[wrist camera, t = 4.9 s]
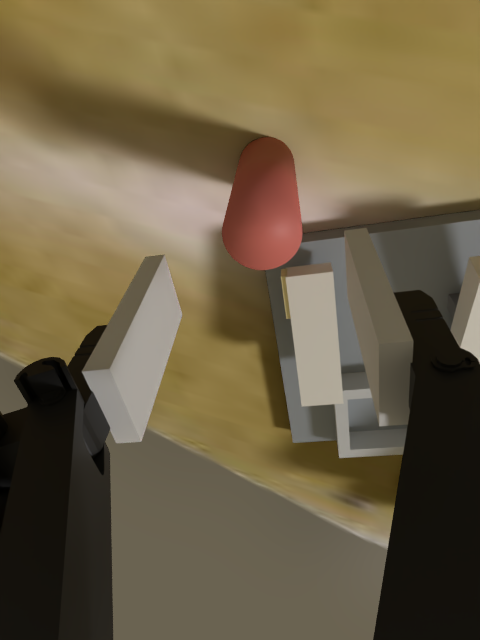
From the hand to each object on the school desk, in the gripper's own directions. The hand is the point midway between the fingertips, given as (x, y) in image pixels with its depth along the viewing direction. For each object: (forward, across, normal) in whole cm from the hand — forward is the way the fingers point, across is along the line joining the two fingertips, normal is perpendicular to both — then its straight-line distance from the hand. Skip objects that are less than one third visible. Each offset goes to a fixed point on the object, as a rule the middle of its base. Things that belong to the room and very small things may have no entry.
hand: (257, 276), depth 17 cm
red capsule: (+15, 0, 0) cm, 15 cm away
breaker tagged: (+12, +2, -11) cm, 16 cm away
